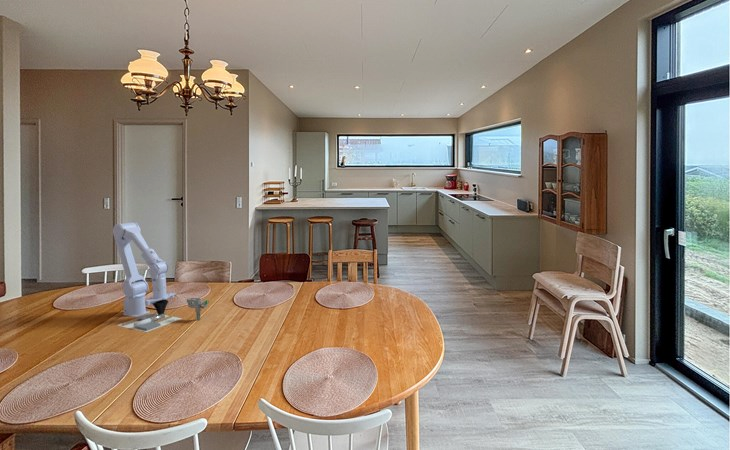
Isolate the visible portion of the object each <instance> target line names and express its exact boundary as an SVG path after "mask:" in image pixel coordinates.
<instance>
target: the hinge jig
mask: <svg viewBox="0 0 730 450" xmlns="http://www.w3.org/2000/svg"><path fill="white" fill-rule="evenodd" d="M151 314H156V315H158V313H157V312H152V313H151V312H150V313H147V314H144V315H141V316H139V317H136V318H135V319H131V320H129V321H125V322H121V323H119V324H117V325H116V326H118V327H121V328H122V327H123V328H127V329H131V330H136V331H139V332H140V331H141V332H144V333H147V332H150V331H153V330H157V329H159V328H162V327H164V326H167V325H169V324H172V323H174V322H177V321H180V320H182V319H183V317H182V318H181V317H177V316H173V315H167V314H164V315H165V318H162V319H160V320H157V321H154V322H151V319H150V318H148V319H145V320H142V321H139V318H142V317H145V316H148V315H151Z"/></svg>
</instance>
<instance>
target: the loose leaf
mask: <svg viewBox="0 0 730 450" xmlns="http://www.w3.org/2000/svg"><path fill="white" fill-rule="evenodd" d="M150 314H151V313H150ZM147 315H148V314H147ZM165 315H166V314H165V313H164V314H163V313H162V314H160V315H156V314H151V315H148V316H145V315H144V316H145V317H142V316H141V317H142V318H140V317H138V318H139V321H142V320H145V319H148V318H150V319H151V322H154V321H157V320H160V319H162V318H165Z"/></svg>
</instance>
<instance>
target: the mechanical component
mask: <svg viewBox="0 0 730 450" xmlns="http://www.w3.org/2000/svg"><path fill="white" fill-rule="evenodd" d="M186 303H187V307H188V308H190V309H195V310H194V312H195V313H196V315H195V316H196V321H200V320H201V311H202V309H206V308H207V307H208V305H209V303H210V302H209V300H208V299H204V300H202V298H195V297H190V298H187V299H186Z"/></svg>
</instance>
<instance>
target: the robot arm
mask: <svg viewBox="0 0 730 450" xmlns="http://www.w3.org/2000/svg"><path fill="white" fill-rule="evenodd" d="M112 228H113V229H112V230H111V231H112V235H113V238H114V241H115V244H116V247H117V252H118V254H119V259H120V261H121V263H122V264H121V265H122V267H123V272H124V274H125V279H124V281H123V282H122V291H123V292H122V293H123V294H124V296H125V297H124V298H123V302H122V303H123V313H122V315H124V316H126V317H127V316H128V317H132V318H139V317H142V316H145V315H148V314H151V311H149V310H146V309H147V308H146V306H150V305H152V306H153V307H154V308H155V310H156V313H157V314H158V315H160V314H162V313H163V314H164V315H165V311H166V307H168V304H169V300H167V299H171V298H175V292H170V293H167V277H166V276H167V275H166V274H167V272H168V270H169V265H168V263H167V261H165V260H164V259H161V258H160V257H159V255H158V254H157V253H156V251H155V250H154V248H150V247H149V245H148V243H147V242H146V240H145V239H144V237H143V235H142V233H141V232H142V231H141V227H140V226H139V223H138V222H136V221H131V222H124V223H123V222H122V223H116V224H114V226H113V227H112ZM131 241H132V242H133V243H134V244H135V245H136V247H138V249H139V250H140V251H141V258H142V259H143V260H144V262H145V263H146V265H147V266H148V270H147V271H148V272H149V274H150V279H151V284H152V297H150V298H147V299H146V295H147V292H148V291H149V284H148V282H147V281H146V279H145V276H142V275H140V273H139V271H138V267H137V264H136V261H135V257H134V254H133V251H132V247H131Z"/></svg>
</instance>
